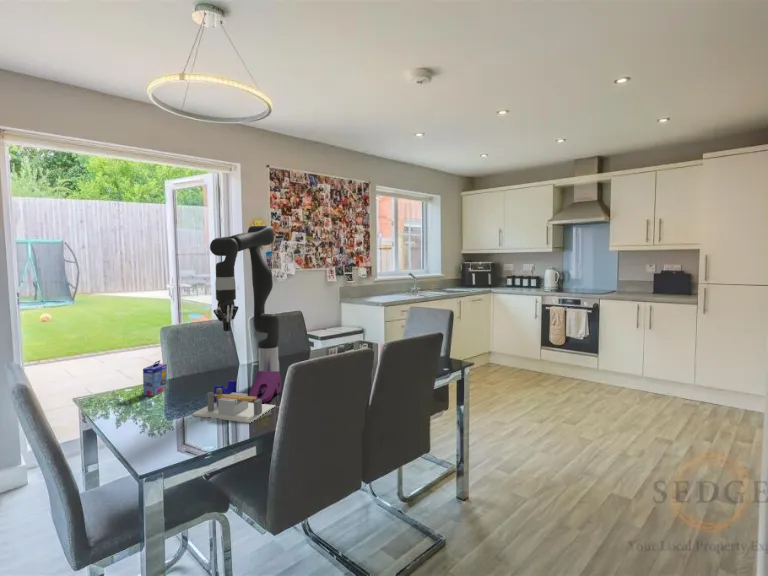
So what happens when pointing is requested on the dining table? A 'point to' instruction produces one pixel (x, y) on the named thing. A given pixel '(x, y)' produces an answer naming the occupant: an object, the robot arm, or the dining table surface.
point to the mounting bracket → (266, 385)
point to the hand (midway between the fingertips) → (227, 330)
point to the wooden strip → (235, 397)
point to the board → (237, 417)
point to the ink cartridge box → (154, 379)
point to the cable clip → (227, 388)
